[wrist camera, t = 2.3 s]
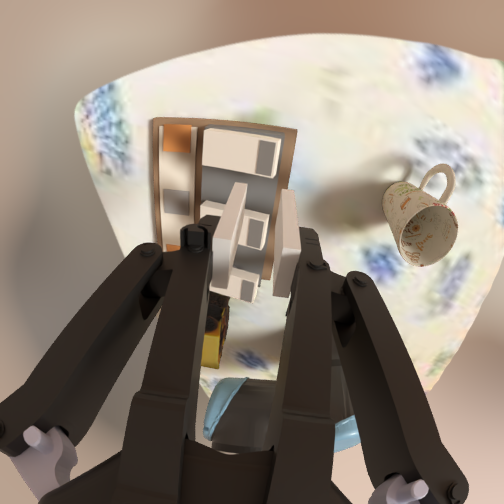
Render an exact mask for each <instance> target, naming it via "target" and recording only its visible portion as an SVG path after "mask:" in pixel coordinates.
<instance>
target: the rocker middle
mask: <svg viewBox="0 0 504 504" xmlns="http://www.w3.org/2000/svg"><path fill="white" fill-rule="evenodd" d="M225 206H226V204H221V203H217V202H212V201H208V200H206V201H205V202H204V203H203V204H201V206H200V219H201V218H202V217H204V216H205V215H215V216H222V213H223V211H224V208H225ZM268 221H269V215H268V214H264V213H260V212H256V211H252V210H247V209H245V210H244V219H243V225H242V229H241V233H240V237H239V241H238V244H239V245H243V246H247V247H251V248H254V249H258V250H262V248H263V246H264V244H265V239H266V233H267V227H268Z"/></svg>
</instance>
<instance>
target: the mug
mask: <svg viewBox="0 0 504 504" xmlns="http://www.w3.org/2000/svg"><path fill="white" fill-rule="evenodd" d="M439 172H443V173H445V174H446V177H447V187H446V189H445V191H444V193H443V194H442V196H441V198H440V199H439V200H437V199H436V198H434V197H432V196H431V195H429V194H427V193H426V192H424V191H422V190H423V189H424V187H425V186H426V184H427V183H428V181H429V180H430V178H431V177H432V176H433V175H435V174H436V173H439ZM454 188H455V174H454V171H453V170H452V168H451V167H450V166H449V165H447V164H438V165H436V166H434V167H433V168H432V169H430V170H429V171H428V172H427V173H426V175H425V176H424V178H423V180H422V182H421V185H420V187H419V188H417V187H416V186H414V185H412V184H410V183H408V182H397V183H395V184H393V185H391V186H390V187H389V188H388V189H387V190H386V192H385V194H384V196H383V200H382V207H383V211H384V213H385V216H386V218H387V221H388V223H389V226H390V228H391V231H392V233H393V236H394V239H395V241H396V244H397V247H398V250H399V252H400V254H401V256H402V257H403V259H404V260H405V261H406V262H407V263H409V264H411V265H413V266H418V267H423V266H429V265H432V264H434V263H436V262H438V261H439V260H441V259H442V258H443V257H444V256H445V255H446V254H447V253H448V252H449V251H450V250H451V248H452V247H453V245H454V243H455V240H456V237H457V233H458V222H457V219H456V216H455V214H454V213H453V211H452V210H451V209H450V208H449V207H448V206H446V204H447V202H448V200H449V199H450V197H451V195H452V193H453V191H454Z"/></svg>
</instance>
